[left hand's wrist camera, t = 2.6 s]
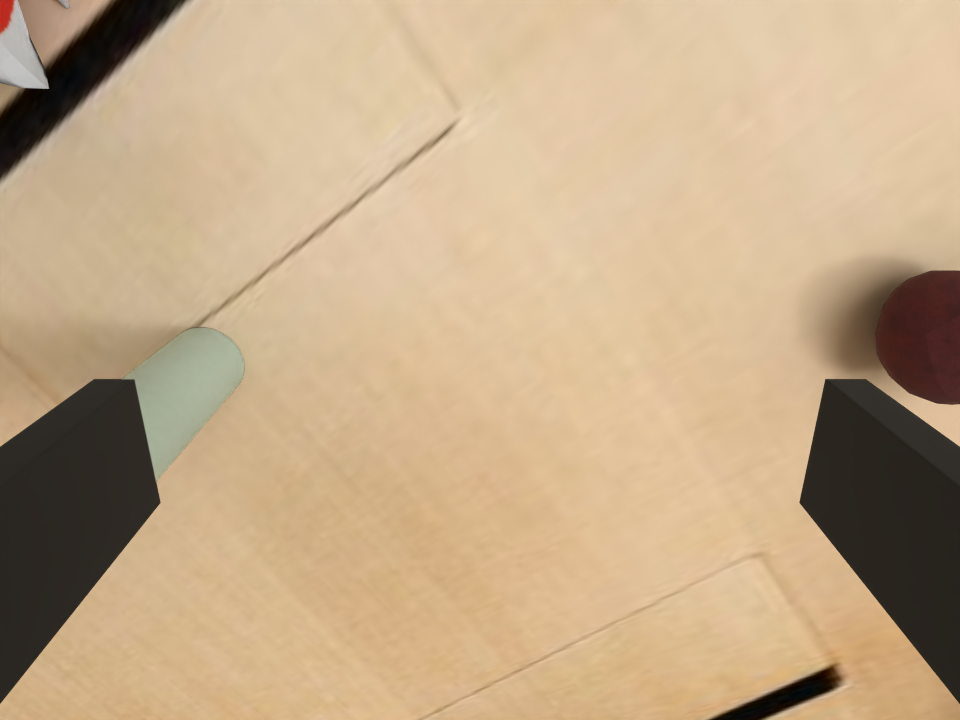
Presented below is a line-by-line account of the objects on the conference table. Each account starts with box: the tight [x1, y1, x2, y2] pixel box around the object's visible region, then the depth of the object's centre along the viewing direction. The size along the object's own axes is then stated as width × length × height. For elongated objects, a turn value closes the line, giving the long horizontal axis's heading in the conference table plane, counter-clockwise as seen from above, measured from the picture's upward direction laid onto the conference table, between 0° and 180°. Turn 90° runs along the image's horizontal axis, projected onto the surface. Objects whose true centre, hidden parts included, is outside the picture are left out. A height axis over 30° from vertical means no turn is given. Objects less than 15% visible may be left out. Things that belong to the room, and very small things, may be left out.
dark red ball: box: [875, 271, 960, 405], centre depth 38 cm, size 7×8×7 cm
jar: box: [122, 328, 244, 481], centre depth 34 cm, size 5×5×19 cm
